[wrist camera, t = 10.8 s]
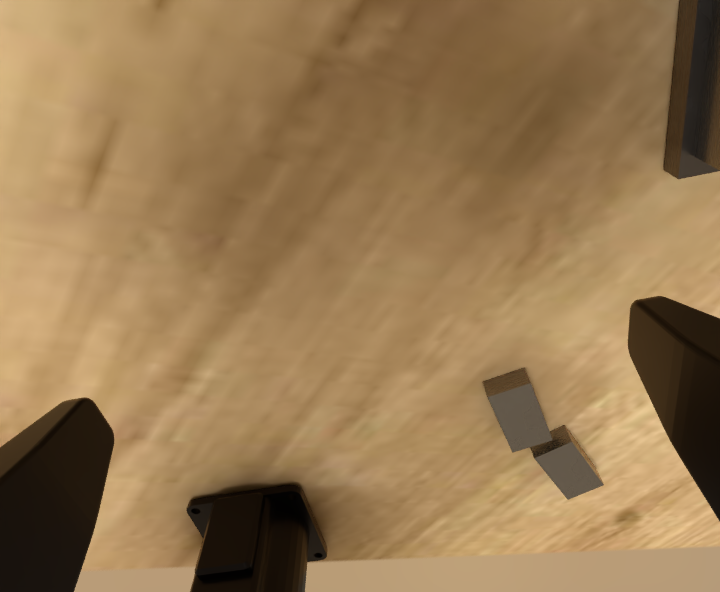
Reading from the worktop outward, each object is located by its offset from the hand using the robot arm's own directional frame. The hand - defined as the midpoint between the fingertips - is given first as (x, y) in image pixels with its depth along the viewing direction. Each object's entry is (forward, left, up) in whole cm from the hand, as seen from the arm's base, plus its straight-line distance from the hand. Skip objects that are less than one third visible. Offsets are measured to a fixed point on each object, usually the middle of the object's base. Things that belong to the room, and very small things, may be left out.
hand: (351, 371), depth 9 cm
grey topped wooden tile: (-14, -5, -12) cm, 19 cm away
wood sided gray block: (-18, -7, -12) cm, 23 cm away
